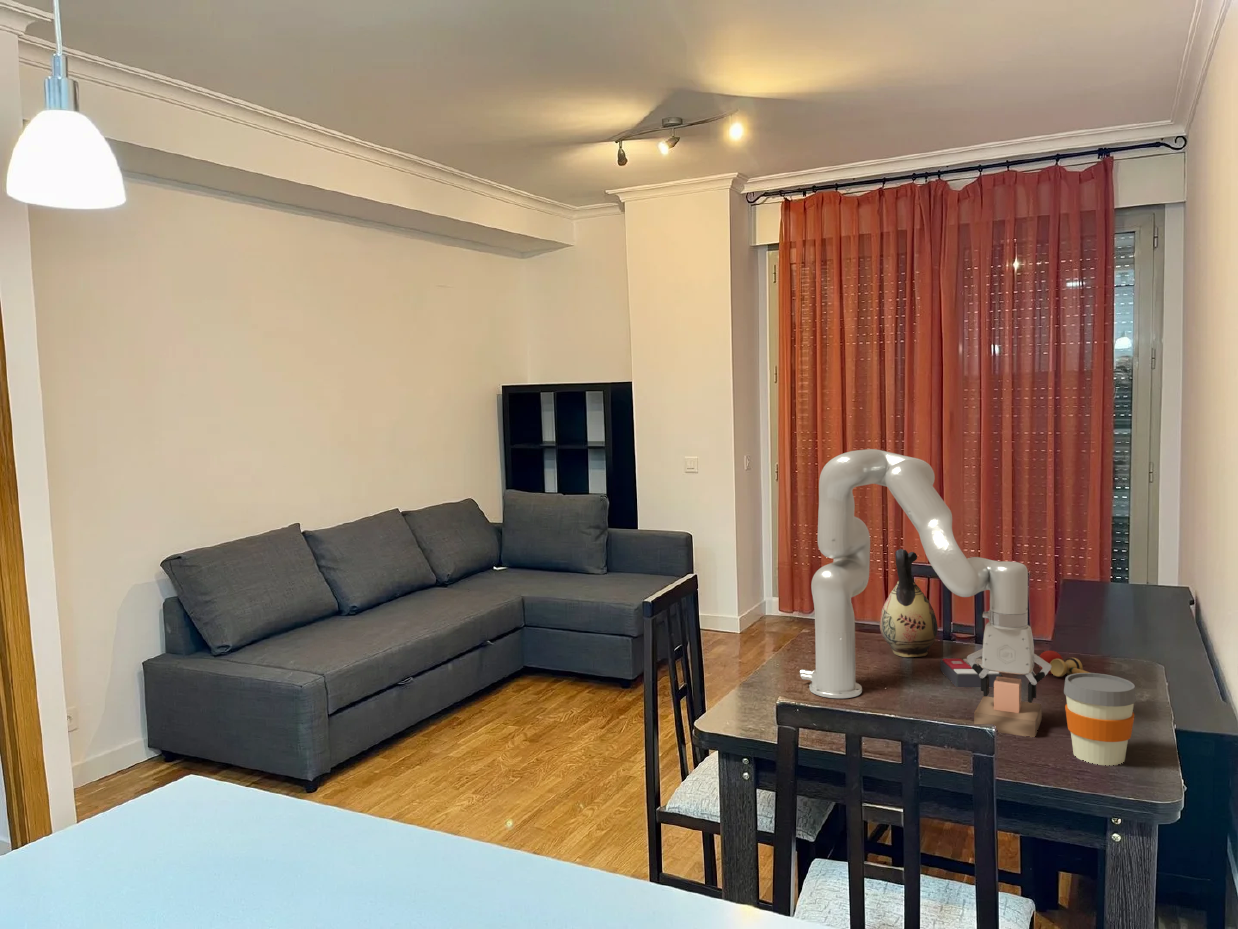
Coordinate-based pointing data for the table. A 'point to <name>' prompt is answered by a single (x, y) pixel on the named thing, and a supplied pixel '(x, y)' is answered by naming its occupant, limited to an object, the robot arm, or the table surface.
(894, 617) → the ceramic jug
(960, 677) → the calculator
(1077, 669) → the kendama
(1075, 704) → the reusable coffee cup
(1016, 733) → the base
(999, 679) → the block
